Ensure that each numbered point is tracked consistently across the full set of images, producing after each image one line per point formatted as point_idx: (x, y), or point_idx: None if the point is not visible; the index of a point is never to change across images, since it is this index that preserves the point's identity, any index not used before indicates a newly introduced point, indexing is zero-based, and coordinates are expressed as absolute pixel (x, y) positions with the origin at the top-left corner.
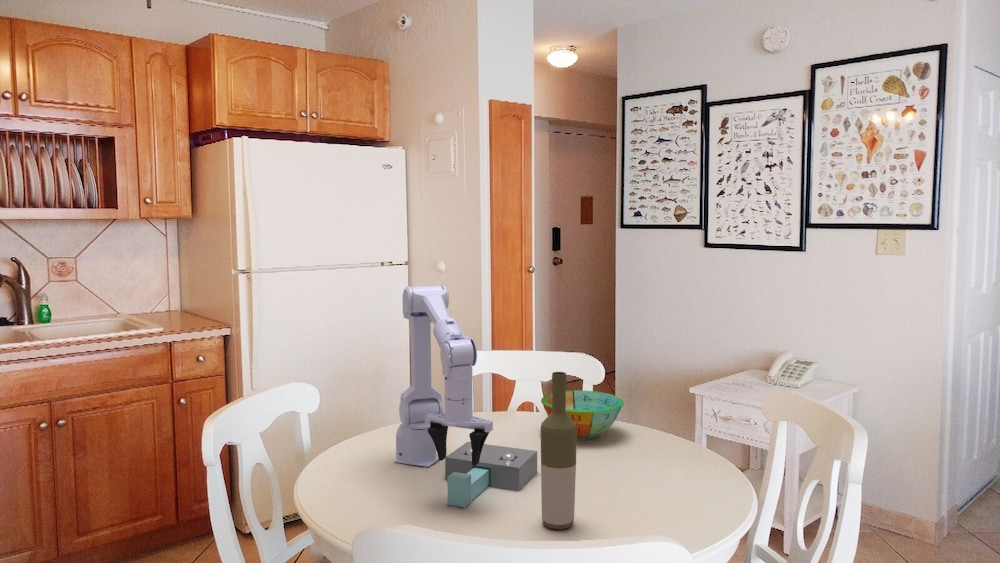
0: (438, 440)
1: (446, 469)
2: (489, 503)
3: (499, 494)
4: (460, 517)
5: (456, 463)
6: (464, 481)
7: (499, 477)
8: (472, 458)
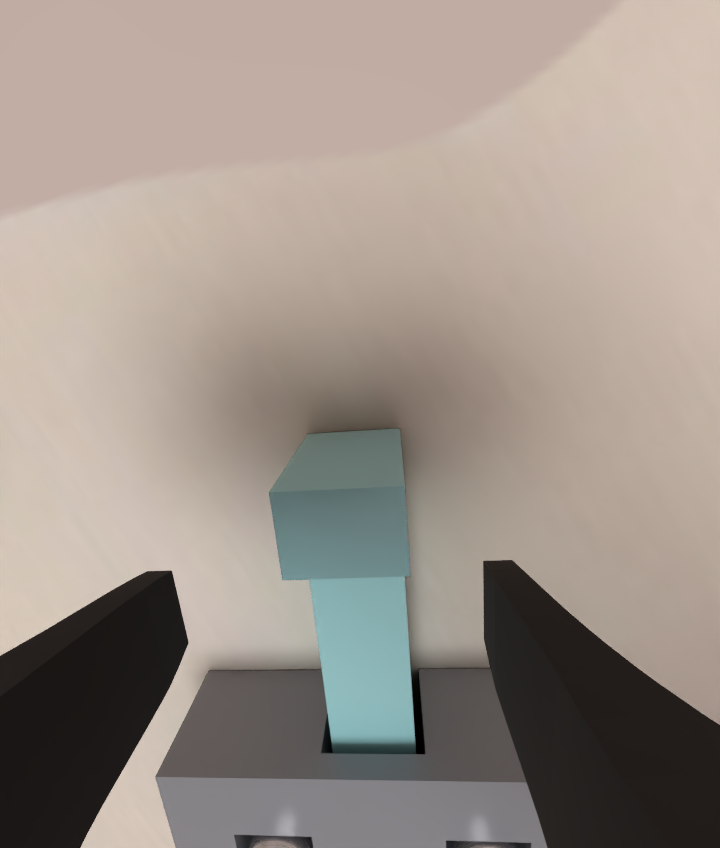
0: (604, 746)
1: None
2: (244, 523)
3: (258, 616)
4: (273, 336)
5: None
6: (275, 485)
7: (282, 712)
8: (113, 602)
